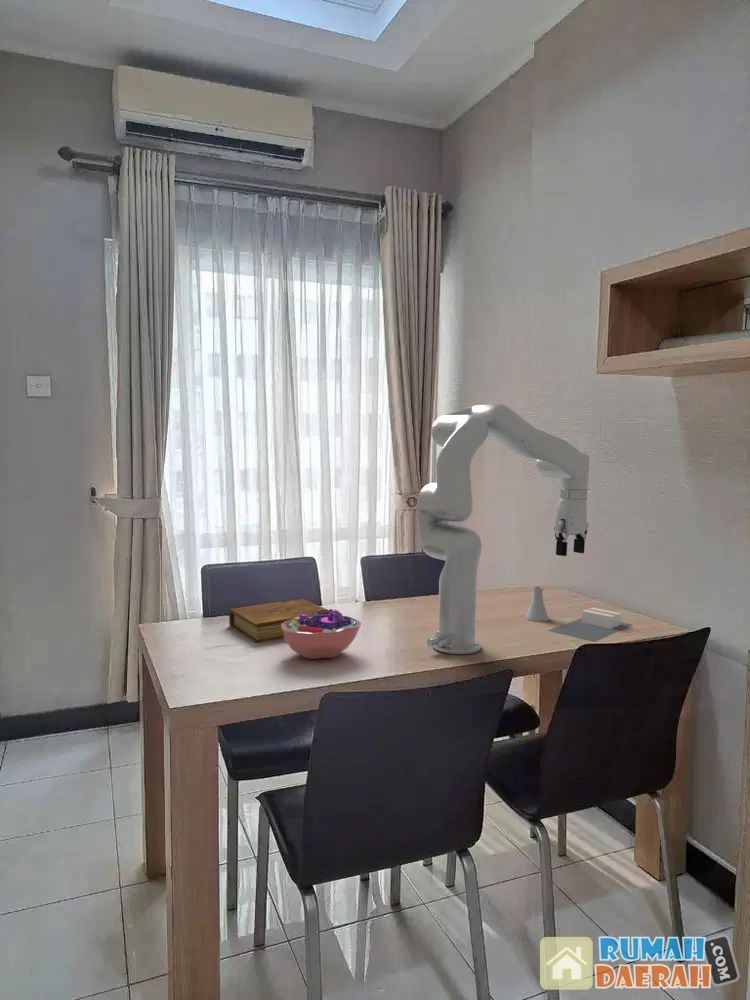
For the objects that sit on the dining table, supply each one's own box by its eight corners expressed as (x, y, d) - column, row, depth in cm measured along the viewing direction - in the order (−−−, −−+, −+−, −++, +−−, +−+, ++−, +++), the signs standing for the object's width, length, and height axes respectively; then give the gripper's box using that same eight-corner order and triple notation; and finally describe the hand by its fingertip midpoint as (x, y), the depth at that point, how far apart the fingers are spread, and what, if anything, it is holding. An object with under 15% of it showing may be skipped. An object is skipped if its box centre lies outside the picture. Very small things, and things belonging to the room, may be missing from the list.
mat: (594, 643, 183) (594, 641, 183) (547, 632, 193) (547, 630, 193) (633, 626, 200) (633, 624, 200) (588, 617, 210) (588, 615, 210)
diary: (301, 616, 207) (301, 597, 207) (332, 631, 192) (332, 611, 191) (229, 627, 195) (229, 607, 194) (255, 644, 179) (255, 623, 179)
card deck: (581, 622, 202) (582, 610, 201) (591, 618, 206) (592, 607, 206) (610, 628, 195) (611, 616, 195) (620, 625, 200) (620, 612, 199)
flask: (547, 617, 209) (548, 585, 208) (550, 624, 202) (552, 590, 201) (523, 616, 209) (524, 584, 209) (525, 623, 202) (527, 589, 201)
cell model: (272, 650, 174) (272, 606, 173) (345, 641, 182) (346, 599, 181) (291, 671, 158) (291, 623, 157) (371, 661, 166) (371, 615, 165)
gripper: (577, 493, 206) (573, 550, 208) (545, 495, 194) (542, 554, 196) (600, 495, 201) (596, 553, 202) (569, 497, 189) (566, 558, 190)
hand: (570, 554), depth 199 cm, fingers open, 9 cm apart
